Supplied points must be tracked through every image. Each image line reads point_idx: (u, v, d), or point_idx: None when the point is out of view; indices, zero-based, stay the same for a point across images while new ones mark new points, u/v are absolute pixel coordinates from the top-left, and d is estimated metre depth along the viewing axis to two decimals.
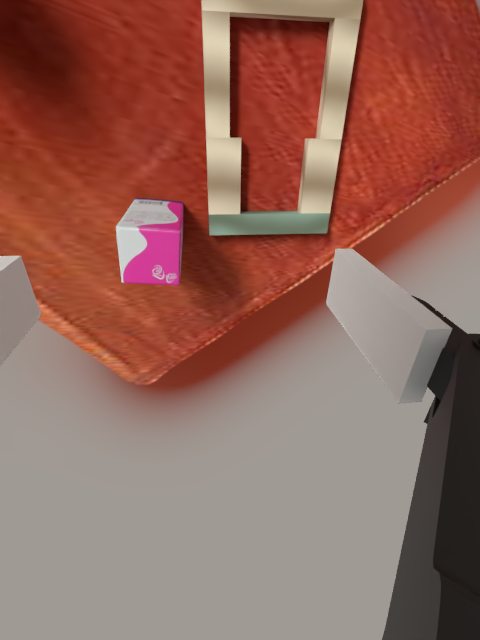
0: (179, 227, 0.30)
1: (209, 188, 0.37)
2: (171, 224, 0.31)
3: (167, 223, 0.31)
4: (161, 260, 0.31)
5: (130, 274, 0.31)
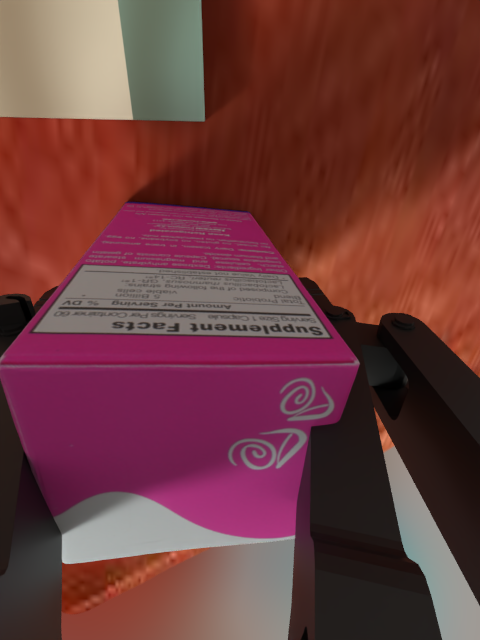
0: None
1: (43, 111, 0.11)
2: None
3: None
4: (201, 440, 0.06)
5: (265, 525, 0.07)
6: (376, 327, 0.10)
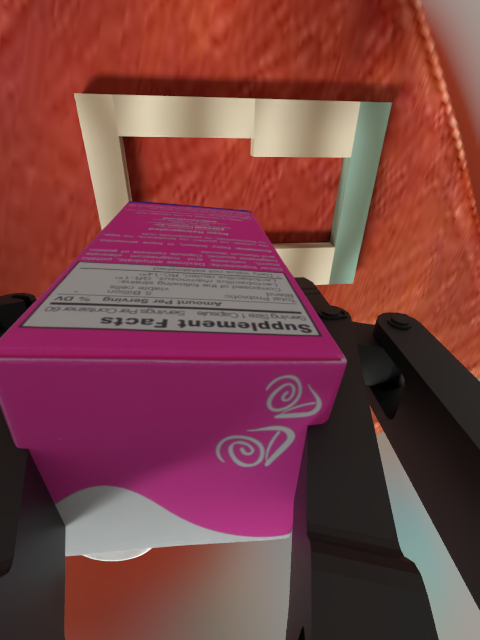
0: None
1: None
2: None
3: None
4: (188, 435, 0.06)
5: (256, 523, 0.07)
6: (372, 327, 0.10)
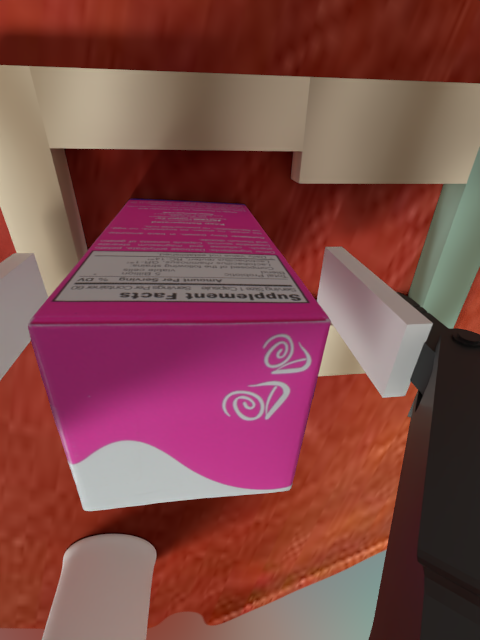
0: None
1: (357, 371, 0.20)
2: None
3: None
4: (198, 391, 0.07)
5: (259, 475, 0.08)
6: None
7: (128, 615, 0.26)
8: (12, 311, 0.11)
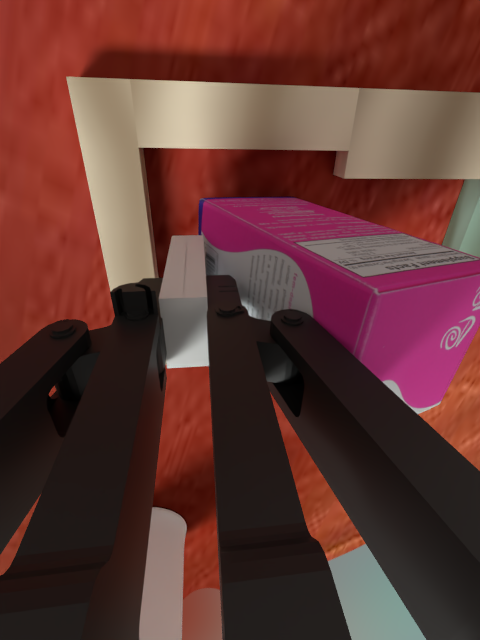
0: (341, 276, 0.08)
1: None
2: (319, 295, 0.09)
3: (315, 306, 0.09)
4: (435, 331, 0.09)
5: (432, 394, 0.11)
6: (269, 326, 0.10)
7: (168, 578, 0.28)
8: None
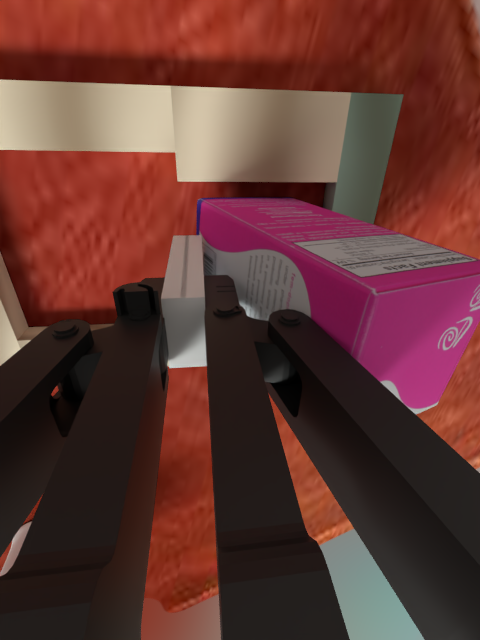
0: (339, 277, 0.08)
1: None
2: (317, 295, 0.09)
3: (313, 306, 0.09)
4: (433, 331, 0.09)
5: (430, 395, 0.11)
6: (266, 326, 0.10)
7: None
8: None
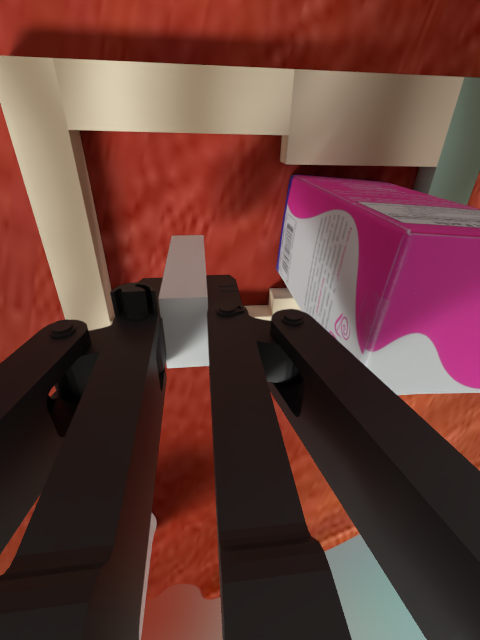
0: (384, 223, 0.09)
1: None
2: (365, 244, 0.10)
3: (360, 255, 0.10)
4: None
5: None
6: (269, 326, 0.10)
7: None
8: None
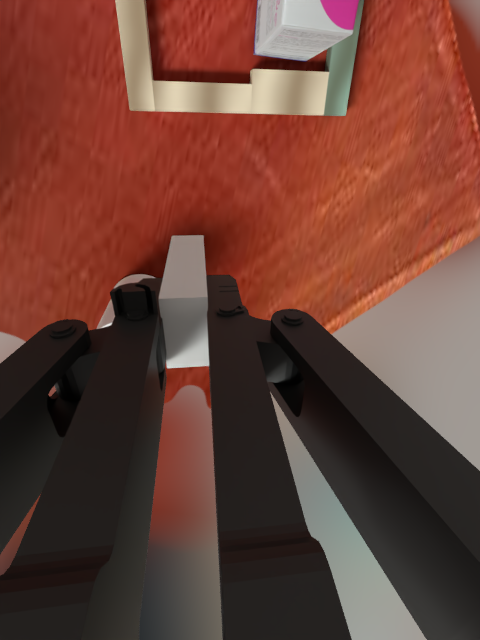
0: None
1: (297, 112, 0.35)
2: None
3: None
4: None
5: (343, 16, 0.23)
6: (269, 326, 0.10)
7: None
8: None
